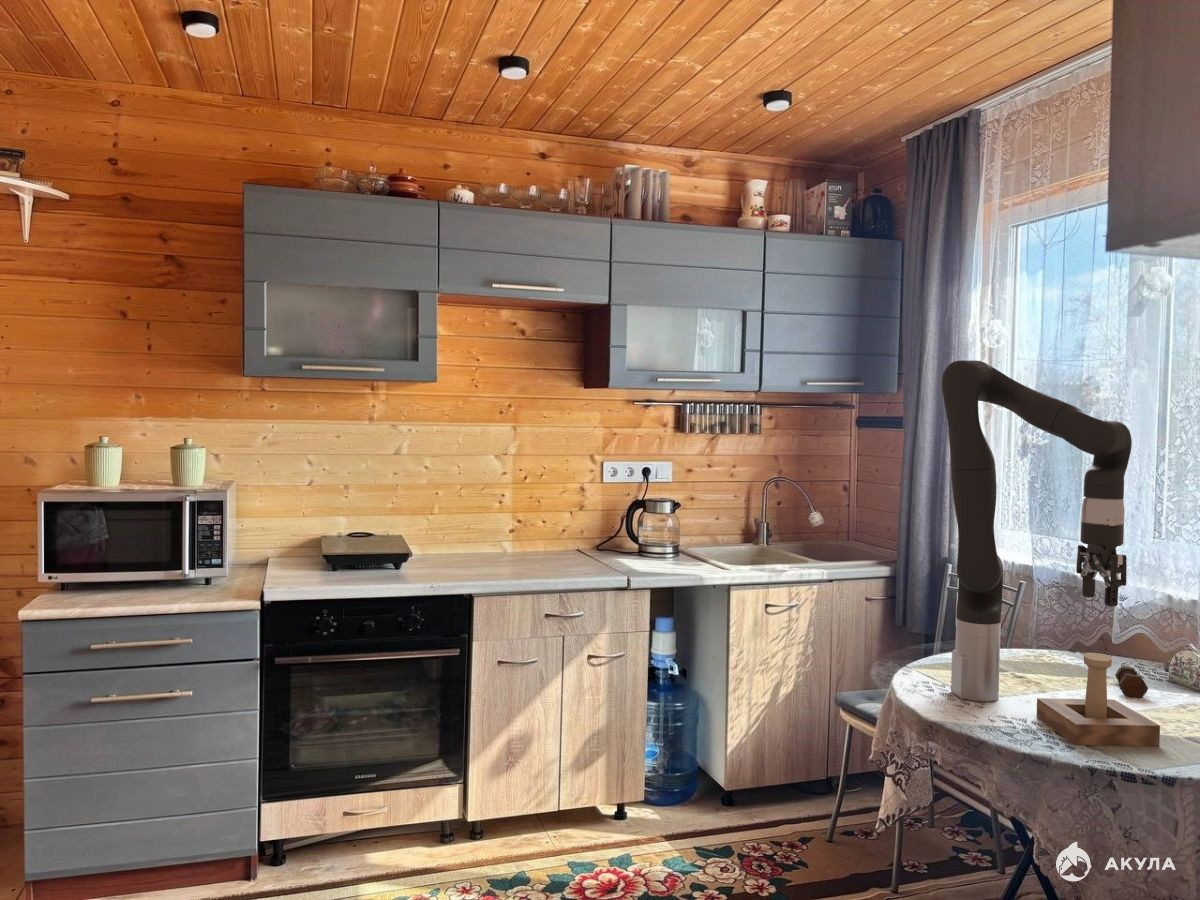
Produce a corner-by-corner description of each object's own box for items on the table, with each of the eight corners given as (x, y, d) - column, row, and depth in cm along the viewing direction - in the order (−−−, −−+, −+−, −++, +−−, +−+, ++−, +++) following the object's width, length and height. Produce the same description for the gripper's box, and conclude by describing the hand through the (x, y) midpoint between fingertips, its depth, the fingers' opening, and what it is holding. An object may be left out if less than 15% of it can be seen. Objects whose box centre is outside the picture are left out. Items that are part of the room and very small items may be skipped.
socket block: (1075, 744, 175) (1076, 724, 175) (1036, 717, 191) (1037, 698, 191) (1159, 746, 175) (1160, 725, 175) (1113, 718, 191) (1114, 699, 191)
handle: (1082, 733, 181) (1085, 659, 180) (1080, 724, 187) (1083, 651, 186) (1110, 737, 179) (1112, 662, 178) (1107, 727, 185) (1110, 654, 184)
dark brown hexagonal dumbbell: (1127, 688, 219) (1137, 704, 205) (1107, 676, 220) (1114, 691, 206) (1142, 669, 217) (1152, 683, 203) (1121, 656, 219) (1130, 670, 205)
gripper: (1065, 516, 189) (1062, 594, 189) (1102, 524, 175) (1099, 608, 175) (1102, 516, 189) (1099, 594, 189) (1142, 525, 174) (1138, 609, 175)
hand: (1099, 601), depth 182 cm, fingers open, 8 cm apart
